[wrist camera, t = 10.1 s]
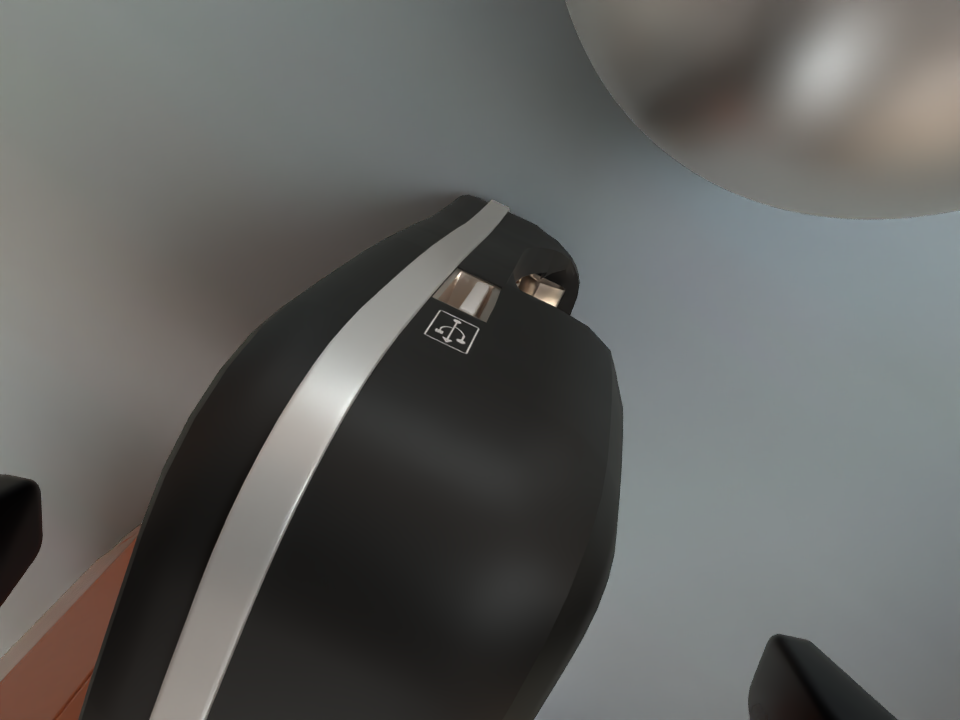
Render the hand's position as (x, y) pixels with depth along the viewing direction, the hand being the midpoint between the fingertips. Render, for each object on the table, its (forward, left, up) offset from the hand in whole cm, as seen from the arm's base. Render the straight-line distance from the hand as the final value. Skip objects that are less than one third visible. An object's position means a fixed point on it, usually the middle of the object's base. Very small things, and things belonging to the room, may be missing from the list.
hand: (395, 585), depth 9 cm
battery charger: (0, 0, -8) cm, 8 cm away
